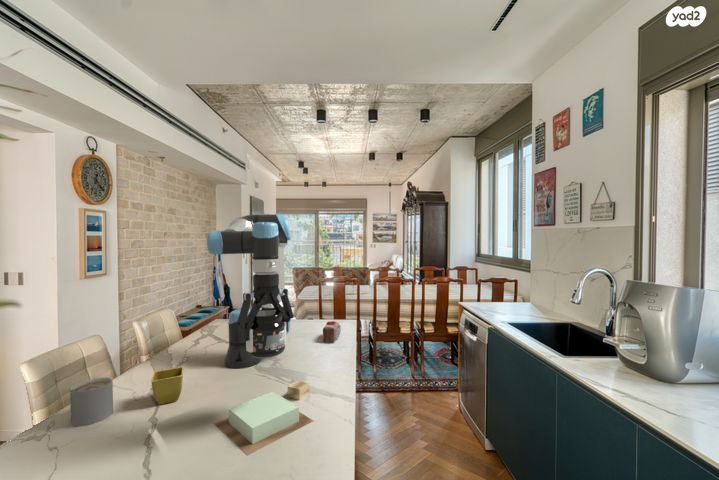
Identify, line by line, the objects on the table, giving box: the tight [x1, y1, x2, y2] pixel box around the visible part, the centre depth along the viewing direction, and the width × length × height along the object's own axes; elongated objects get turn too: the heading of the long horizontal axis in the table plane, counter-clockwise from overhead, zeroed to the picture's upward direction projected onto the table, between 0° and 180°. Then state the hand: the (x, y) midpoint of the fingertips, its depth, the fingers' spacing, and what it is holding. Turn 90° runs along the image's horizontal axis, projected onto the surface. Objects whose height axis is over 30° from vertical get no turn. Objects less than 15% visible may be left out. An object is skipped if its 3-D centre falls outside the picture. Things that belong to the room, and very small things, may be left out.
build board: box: [213, 411, 314, 456], centre depth 91 cm, size 20×20×2 cm
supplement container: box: [249, 310, 286, 359], centre depth 97 cm, size 10×10×12 cm
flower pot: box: [150, 366, 184, 405], centre depth 108 cm, size 9×9×9 cm
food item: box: [322, 320, 342, 344], centre depth 171 cm, size 14×8×10 cm, turn 173°
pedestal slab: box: [228, 391, 300, 444], centre depth 91 cm, size 14×14×4 cm
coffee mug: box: [69, 376, 114, 427], centre depth 100 cm, size 13×10×10 cm
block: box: [287, 380, 310, 401], centre depth 107 cm, size 5×5×5 cm
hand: (267, 346), depth 97 cm, fingers closed on supplement container, 10 cm apart
